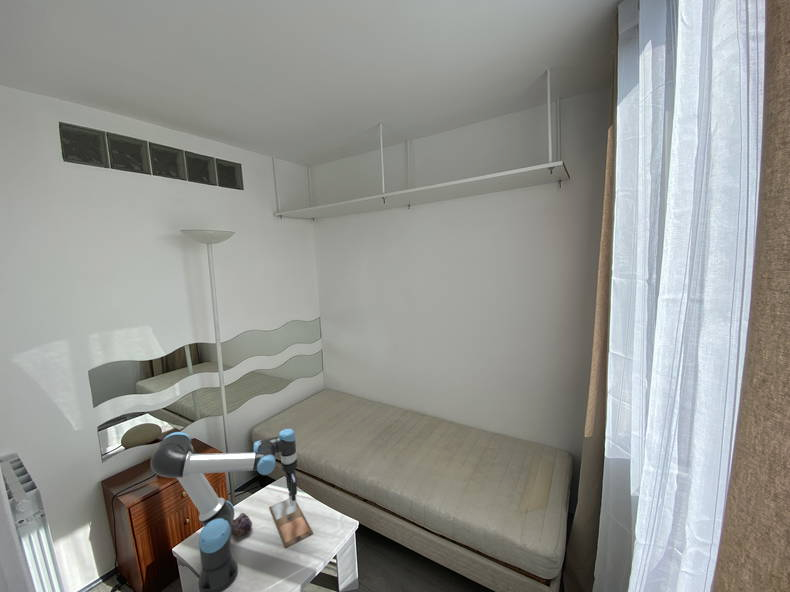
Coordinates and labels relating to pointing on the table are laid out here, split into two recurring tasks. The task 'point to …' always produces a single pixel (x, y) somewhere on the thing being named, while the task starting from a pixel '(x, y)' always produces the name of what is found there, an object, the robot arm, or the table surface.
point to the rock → (241, 524)
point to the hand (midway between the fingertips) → (293, 504)
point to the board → (290, 523)
